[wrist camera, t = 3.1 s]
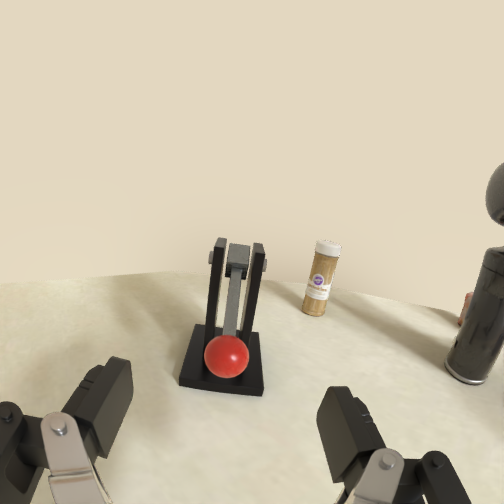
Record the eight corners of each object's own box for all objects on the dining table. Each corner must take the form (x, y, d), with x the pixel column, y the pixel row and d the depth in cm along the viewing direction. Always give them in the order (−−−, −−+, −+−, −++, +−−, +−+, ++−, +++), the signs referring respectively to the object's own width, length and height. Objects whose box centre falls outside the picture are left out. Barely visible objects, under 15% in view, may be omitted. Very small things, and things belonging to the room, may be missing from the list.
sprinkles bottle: (299, 313, 49) (316, 241, 46) (302, 304, 53) (317, 237, 50) (324, 319, 48) (342, 247, 45) (324, 309, 52) (341, 243, 49)
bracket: (262, 396, 27) (292, 268, 23) (178, 386, 26) (185, 253, 23) (257, 339, 39) (276, 239, 35) (194, 331, 38) (205, 228, 34)
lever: (244, 386, 21) (250, 370, 19) (201, 380, 21) (201, 364, 18) (252, 266, 32) (257, 242, 29) (221, 261, 31) (223, 237, 29)
